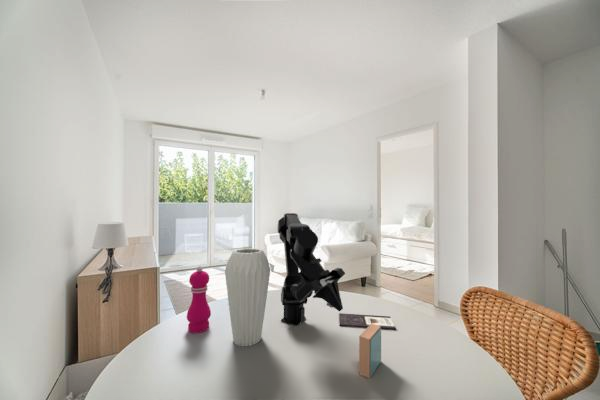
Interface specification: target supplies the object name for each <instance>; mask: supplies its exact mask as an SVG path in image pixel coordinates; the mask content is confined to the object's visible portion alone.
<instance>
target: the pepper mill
mask: <svg viewBox="0 0 600 400" xmlns="http://www.w3.org/2000/svg"><path fill="white" fill-rule="evenodd" d="M209 281H210V276H209V273H208V272H206V271H205V270H203V266H197V267H196V271H194V272H192V273H191V275H190V277H189V285H191V287H190V289H191V290H190V292H191V293H192V297H191V298H192V299H191V302H190V305H189V306H188V307H189V308H188V310H187V312H186V320H187V322H189V323H188V324H187V325H188V326H187V331H188V332H189V333H193V334H199V333H203V332H206V331H207V330H208V329H209V328H210V321H209V319H210V317H211V316H212V315H211V314H212V312H211V307H210V305H209V303H208V301H207V291H208V285H207V284H208V283H209Z"/></svg>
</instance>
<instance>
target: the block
mask: <svg viewBox="0 0 600 400" xmlns="http://www.w3.org/2000/svg"><path fill="white" fill-rule="evenodd" d="M358 338H359V341H358V342H359V343H358V344H359V345H358V346H359V348H358V350H359V352H358V355H359V356H358V359H359V361H358V362H359V364H358V365H359V366H358V374H359V375H361V376H364V377H366V378H368V379H370V378H371V377H372V376H373V374H374V373H375V371H376V370H377V368H378V366H379V364H380V363H381V361H382V329H381V326H378V325H375V324H370V325H369V326H368V327H367V328H365V329H364V330H363V331H362V332H361V334H360V335H359V336H358Z"/></svg>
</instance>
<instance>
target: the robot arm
mask: <svg viewBox="0 0 600 400" xmlns="http://www.w3.org/2000/svg"><path fill="white" fill-rule="evenodd" d="M277 233H278V235H279V240H280V241H281V242H283V245H284V246H283V247H284V255H285V267H286V269H285V270H286V276H285V278H284V282H283V284H282V285H283V286H281V287H282V288H281V292H280V301H281V305H282V306H283V317H282V318H281V320H280V322H283V323H285V324H286V323H287V324H290V325H293V326H298V325H300V324H301V323H302V322H303V321H305V320H306V316H305V314H306V313H305V312H306V311H305V309H306V308H305V306H304V305H306V304H308V303H307V302H308V298H311V296H312V298H313V299H317V298H318V299H322V300H323V301H325V302H327V303H329V304H330V305H332V306H333V307H332V308H334V309H335V310H337V311H338V312H341V311H342V310H343V309H344V308H343V303H342V299H341V294H340V289H339V283H338V282H339V281H340V279H342V277H343V276H344V275H346V273H345V271H344V269H343V268H342V267H341V268H340V267H336V268H334V269H332V270H331V271H329V269H326V270H325V268H324V267H323V265H322V264H321V262H322V259H321V258H317V257H316V256H315V255H314V251H315V249H316V248H317V245H318V243H319V237H318V235H317V234H316V233H315V232H314V231H313V229H311V228H310V226H309V225H308V224H305V223H302V222H301V221H300V219H299V216H298V213H291V212H290V213H289V212H288V213H283V216H282V217H281V218H280V219H279V220H278V222H277ZM299 270H300V271H299ZM313 292H314V295H313Z"/></svg>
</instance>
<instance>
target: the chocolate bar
mask: <svg viewBox="0 0 600 400" xmlns="http://www.w3.org/2000/svg"><path fill="white" fill-rule="evenodd" d="M338 316H339V317H338V319H339V320H338V322H339V323H338V324H339V327H346V328H348V327H349V328H360V329H361V328H362V329H363V328H364V329H366V328H367V327H368V326H369V325H370V324H375V325H378V326H381V330H386V331H387V330H389V331H396V330H397V328H396V326H395V323H394V322H393V320H392V318H391V316H390V315H389V316H387V315H373V314H372V315H371V314H355V313H342V312H341V313H340V312H339V314H338Z"/></svg>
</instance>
